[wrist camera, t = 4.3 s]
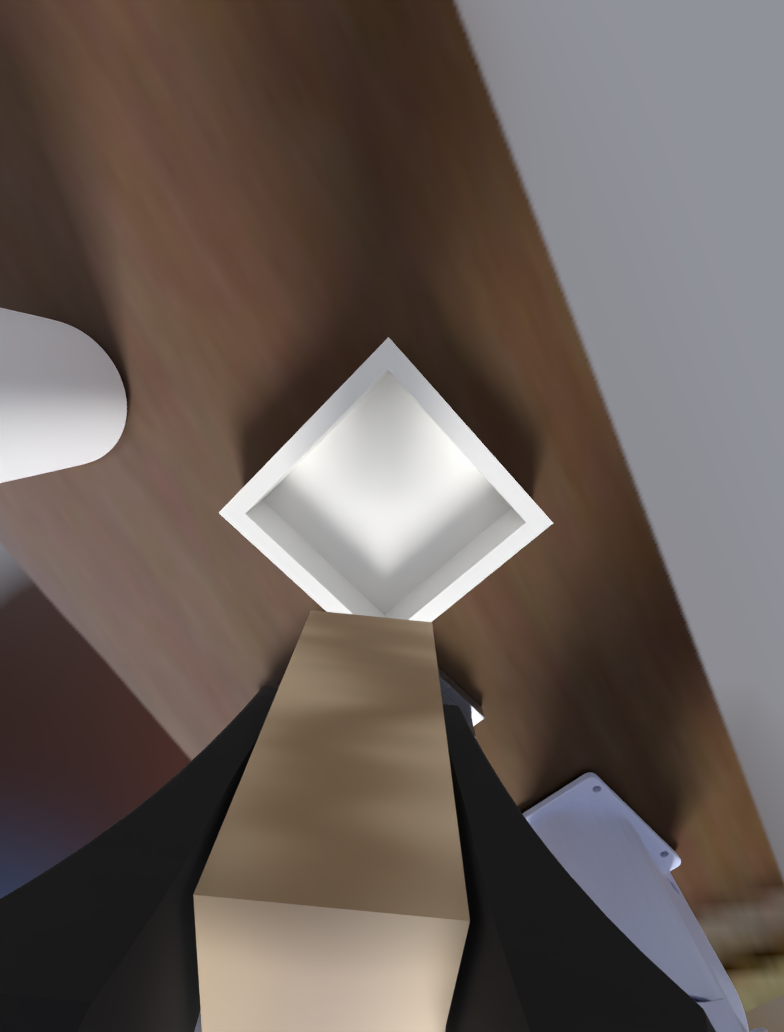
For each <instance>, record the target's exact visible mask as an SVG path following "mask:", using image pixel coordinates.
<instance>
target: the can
mask: <svg viewBox="0 0 784 1032" xmlns="http://www.w3.org/2000/svg"><path fill="white" fill-rule="evenodd" d="M126 416H127V400H126V394H125V389H124V386H123V382H122V380H121V377H120V375H119V373H118V371H117V369H116V367H115V365H114V363H113V362H112V360H111V359H110V357H109V356H108V355H107V354H106V352H105V351H104V350H103V349H102V348H101V347H100V346H99V345H98V344H97V343H96V342H95V341H94V340H93V339H92V338H90V337H89V336H88V335H86V334H85V333H83V332H82V331H80V330H78V329H77V328H75V327H73V326H70V325H68V324H65V323H63V322H59V321H56V320H52V319H48V318H44V317H40V316H35V315H31V314H26V313H22V312H17V311H13V310H8V309H4V308H0V483H2V482H7V481H12V480H16V479H21V478H25V477H30V476H34V475H39V474H43V473H48V472H52V471H57V470H61V469H65V468H70V467H74V466H78V465H82V464H86V463H89V462H92V461H95V460H97V459H99V458H101V457H102V456H104V455H105V454H107V453H108V452H109V451H110V450H111V449H112V448H113V447H114V446H115V444H116V443H117V442H118V440H119V438H120V437H121V434H122V432H123V429H124V426H125V422H126Z"/></svg>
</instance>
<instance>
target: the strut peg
mask: <svg viewBox="0 0 784 1032" xmlns="http://www.w3.org/2000/svg"><path fill="white" fill-rule="evenodd" d="M193 898H194V913H195V929H196V945H197V960H198V976H199V992H200V1007H201V1023H202V1032H444V1031H445V1027H446V1023H447V1018H448V1014H449V1010H450V1005H451V1001H452V997H453V992H454V988H455V984H456V979H457V975H458V971H459V966H460V962H461V958H462V954H463V949H464V945H465V941H466V936H467V932H468V928H469V923H470V917H469V909H468V901H467V893H466V886H465V878H464V870H463V862H462V854H461V846H460V838H459V831H458V823H457V815H456V807H455V799H454V791H453V783H452V775H451V768H450V760H449V752H448V744H447V736H446V728H445V720H444V713H443V705H442V697H441V689H440V681H439V673H438V665H437V658H436V650H435V642H434V634H433V626H432V622H424V621H414V620H404V619H394V618H384V617H374V616H364V615H354V614H344V613H334V612H324V611H314V610H311V611H310V613H309V616H308V618H307V621H306V623H305V626H304V628H303V630H302V633H301V635H300V638H299V640H298V643H297V645H296V647H295V650H294V652H293V655H292V657H291V659H290V662H289V664H288V667H287V669H286V672H285V674H284V676H283V679H282V681H281V684H280V686H279V689H278V691H277V693H276V696H275V698H274V701H273V703H272V705H271V708H270V710H269V713H268V715H267V718H266V720H265V722H264V725H263V727H262V730H261V732H260V735H259V737H258V739H257V742H256V744H255V747H254V749H253V751H252V754H251V756H250V759H249V761H248V764H247V766H246V768H245V771H244V773H243V776H242V778H241V781H240V783H239V785H238V788H237V790H236V793H235V795H234V797H233V800H232V802H231V805H230V807H229V810H228V812H227V814H226V817H225V819H224V822H223V824H222V827H221V829H220V831H219V834H218V836H217V839H216V841H215V843H214V846H213V848H212V851H211V853H210V856H209V858H208V860H207V863H206V865H205V868H204V870H203V873H202V875H201V877H200V880H199V882H198V885H197V887H196V889H195V892H194V894H193Z"/></svg>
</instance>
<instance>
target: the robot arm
mask: <svg viewBox="0 0 784 1032" xmlns="http://www.w3.org/2000/svg"><path fill="white" fill-rule="evenodd" d="M278 689H279V687H269V686H265V687H263V688H262V689H261V690H260V691H259V692H258V693H257V694H256V695H255V697H254V698H253V699H252V700H251V701H250V702H249V703H248V704H247V706H246V707H245V708H244V709H243V710H242V711H241V712H240V713H239V714H238V715H237V716H236V718H235V719H234V720H233V721H232V722H231V723H230V724H229V725H228V726H227V727H226V728H225V729H224V730H223V731H222V732H221V733H220V734H219V735H218V736H217V737H216V738H215V739H214V740H213V741H212V742H211V743H210V744H209V745H208V746H207V747H206V748H205V749H204V750H203V751H202V752H201V753H200V754H199V755H197V756H196V757H195V758H194V759H193V760H192V761H191V762H190V763H189V764H188V765H187V766H186V767H185V768H183V769H182V770H181V771H180V772H179V773H178V774H177V775H176V776H175V777H173V778H172V779H171V780H170V781H169V782H168V783H166V784H165V785H164V786H163V787H162V788H160V789H159V790H158V791H157V792H156V793H154V794H153V795H152V796H151V797H150V798H148V799H147V800H146V801H144V802H143V803H142V804H141V805H140V806H138V807H137V808H136V809H134V810H133V811H132V812H130V813H129V814H128V815H126V816H125V817H124V818H122V819H121V820H120V821H118V822H117V823H116V824H114V825H113V826H112V827H110V828H109V829H108V830H106V831H105V832H104V833H102V834H101V835H99V836H98V837H97V838H95V839H94V840H92V841H91V842H89V843H88V844H86V845H85V846H84V847H82V848H81V849H79V850H78V851H76V852H74V853H73V854H71V855H70V856H68V857H67V858H65V859H64V860H62V861H61V862H59V863H58V864H56V865H55V866H53V867H51V868H50V869H48V870H47V871H45V872H44V873H42V874H41V875H39V876H38V877H36V878H34V879H33V880H31V881H30V882H28V883H26V884H25V885H23V886H21V887H20V888H18V889H17V890H15V891H13V892H11V893H10V894H8V895H6V896H5V897H3V898H1V899H0V1032H194V1030H195V1027H196V1023H197V1019H198V1016H199V1013H200V1009H201V1007H200V992H199V976H198V960H197V945H196V929H195V913H194V898H193V894H194V892H195V889H196V887H197V885H198V882H199V880H200V877H201V875H202V873H203V870H204V868H205V865H206V863H207V860H208V858H209V856H210V853H211V851H212V848H213V846H214V843H215V841H216V839H217V836H218V834H219V831H220V829H221V827H222V824H223V822H224V819H225V817H226V814H227V812H228V810H229V807H230V805H231V802H232V800H233V797H234V795H235V793H236V790H237V788H238V785H239V783H240V781H241V778H242V776H243V773H244V771H245V768H246V766H247V764H248V761H249V759H250V756H251V754H252V751H253V749H254V747H255V744H256V742H257V739H258V737H259V735H260V732H261V730H262V727H263V725H264V722H265V720H266V718H267V715H268V713H269V710H270V708H271V705H272V703H273V701H274V698H275V696H276V693H277V691H278ZM442 705H443V713H444V720H445V728H446V736H447V744H448V752H449V760H450V768H451V775H452V783H453V791H454V799H455V807H456V815H457V823H458V831H459V838H460V846H461V854H462V862H463V870H464V878H465V886H466V893H467V901H468V909H469V917H470V923H469V928H468V932H467V936H466V941H465V945H464V949H463V954H462V958H461V962H460V966H459V971H458V975H457V979H456V984H455V988H454V992H453V997H452V1001H451V1005H450V1010H449V1014H448V1018H447V1023H446V1032H749V1029H748V1024H747V1020H746V1016H745V1012H744V1009H743V1006H742V1003H741V1001H740V998H739V996H738V994H737V992H736V990H735V988H734V986H733V984H732V982H731V980H730V978H729V977H728V975H727V973H726V971H725V970H724V968H723V966H722V964H721V962H720V961H719V959H718V957H717V955H716V953H715V952H714V950H713V948H712V946H711V945H710V943H709V941H708V939H707V937H706V936H705V934H704V932H703V930H702V928H701V927H700V925H699V923H698V921H697V920H696V918H695V916H694V914H693V912H692V911H691V909H690V907H689V905H688V903H687V902H686V900H685V898H684V896H683V895H682V893H681V891H680V889H679V887H678V886H677V884H676V882H675V880H674V878H673V877H672V875H671V873H670V871H671V870H673V869H675V868H676V867H678V866H679V865H680V864H681V859H680V858H679V856H678V854H677V853H676V852H675V851H674V850H673V849H672V848H671V847H670V846H669V845H668V844H667V843H666V842H665V841H664V840H663V839H662V838H661V837H660V836H659V835H658V834H657V833H656V832H655V831H653V830H652V829H651V828H650V827H649V826H648V825H647V824H646V823H645V822H644V821H643V820H642V819H641V818H640V817H639V816H638V815H637V814H636V813H635V812H634V811H633V810H632V809H631V808H630V807H629V806H628V805H627V804H626V803H625V802H624V801H623V800H622V799H621V798H620V797H619V796H618V795H617V794H616V793H615V792H614V791H613V790H611V789H610V788H609V787H608V786H607V785H606V784H605V783H604V782H603V781H602V780H601V779H600V778H599V777H598V776H597V775H596V774H594V773H591V772H589V773H585V774H583V775H582V776H580V777H579V778H577V779H576V780H574V781H573V782H571V783H569V784H568V785H566V786H565V787H563V788H562V789H560V790H558V791H557V792H555V793H554V794H552V795H551V796H549V797H547V798H546V799H544V800H543V801H541V802H540V803H538V804H537V805H535V806H533V807H532V808H530V809H529V810H527V811H526V812H524V813H521V811H520V810H519V808H518V807H517V805H516V804H515V802H514V801H513V799H512V798H511V796H510V795H509V793H508V792H507V790H506V789H505V787H504V786H503V784H502V783H501V781H500V779H499V778H498V776H497V774H496V773H495V771H494V769H493V768H492V766H491V765H490V763H489V761H488V760H487V758H486V756H485V754H484V753H483V751H482V749H481V747H480V746H479V744H478V742H477V740H476V738H475V736H474V734H473V733H472V731H471V729H470V727H469V725H468V723H467V721H466V719H465V717H464V715H463V713H462V711H461V709H460V708H459V706H456V705H446V704H442ZM750 1032H768V1031H767V1030H766V1029H765V1028H757V1029H754V1030H751V1031H750Z"/></svg>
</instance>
